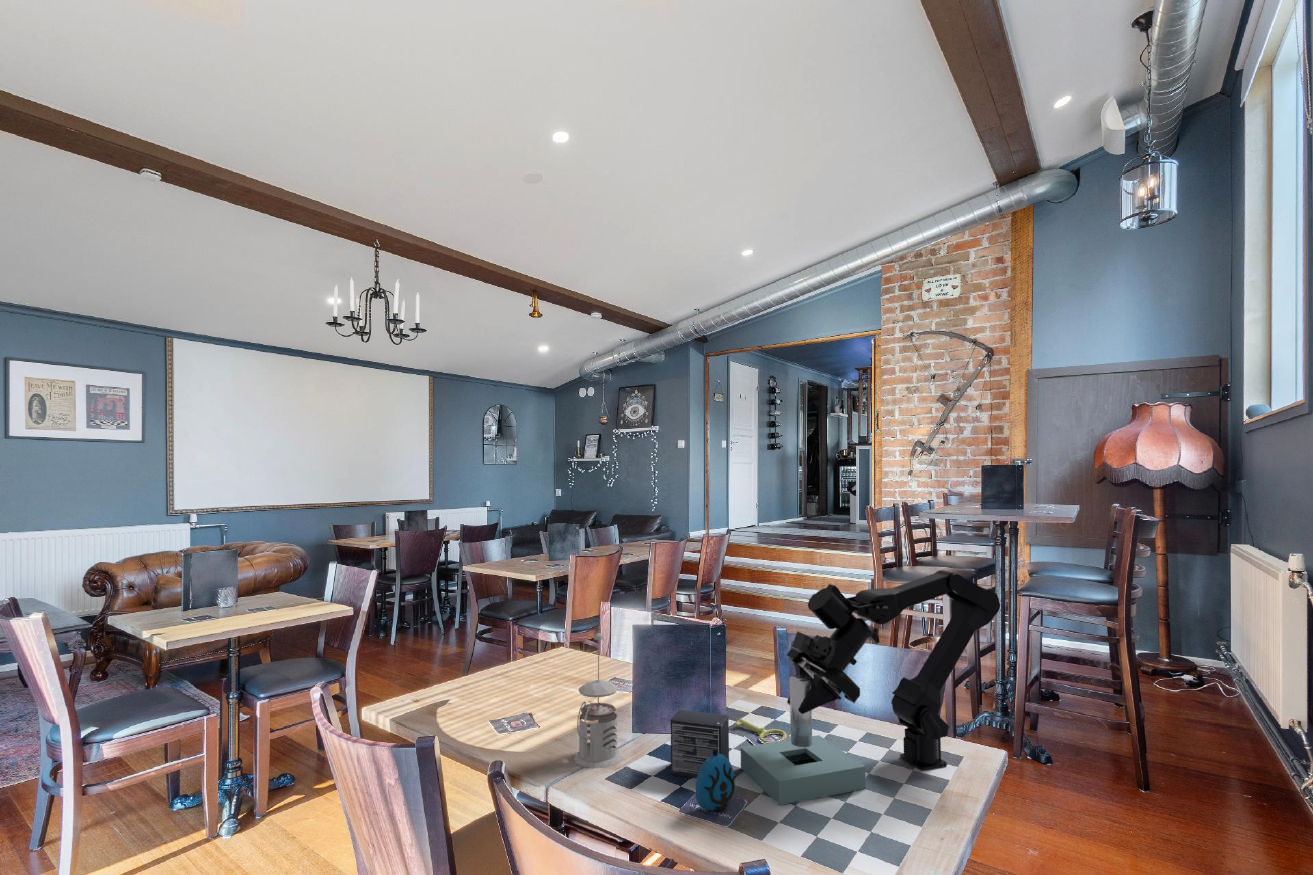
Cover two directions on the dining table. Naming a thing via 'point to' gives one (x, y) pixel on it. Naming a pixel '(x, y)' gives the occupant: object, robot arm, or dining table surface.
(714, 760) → the ornament
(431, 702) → the dining table surface
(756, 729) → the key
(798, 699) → the tube
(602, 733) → the french press
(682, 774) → the small box
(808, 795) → the box
